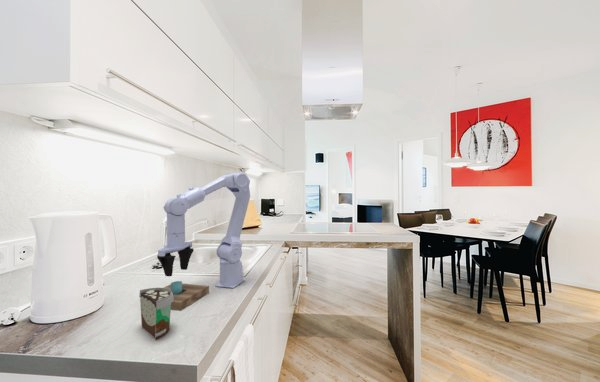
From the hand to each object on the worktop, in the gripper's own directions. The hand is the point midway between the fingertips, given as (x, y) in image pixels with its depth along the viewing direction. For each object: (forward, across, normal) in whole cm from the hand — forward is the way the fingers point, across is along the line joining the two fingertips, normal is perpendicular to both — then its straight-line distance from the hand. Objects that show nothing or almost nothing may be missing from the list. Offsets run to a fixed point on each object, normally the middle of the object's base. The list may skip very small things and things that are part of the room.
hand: (176, 272), depth 94 cm
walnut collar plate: (+9, 0, 0) cm, 9 cm away
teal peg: (+9, 0, 0) cm, 9 cm away
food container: (+9, +19, +10) cm, 23 cm away
